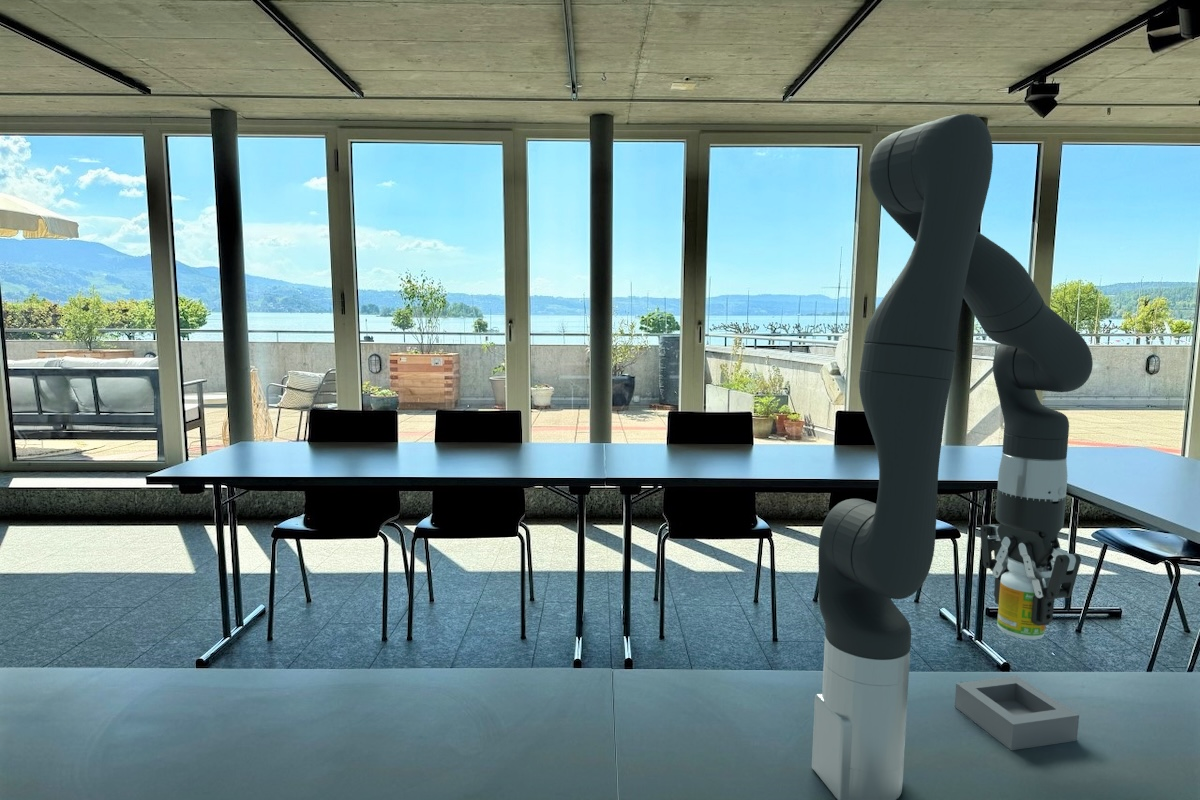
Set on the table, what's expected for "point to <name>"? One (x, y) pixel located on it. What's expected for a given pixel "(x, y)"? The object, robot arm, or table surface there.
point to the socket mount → (1016, 712)
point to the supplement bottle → (1018, 603)
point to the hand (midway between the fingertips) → (1021, 613)
